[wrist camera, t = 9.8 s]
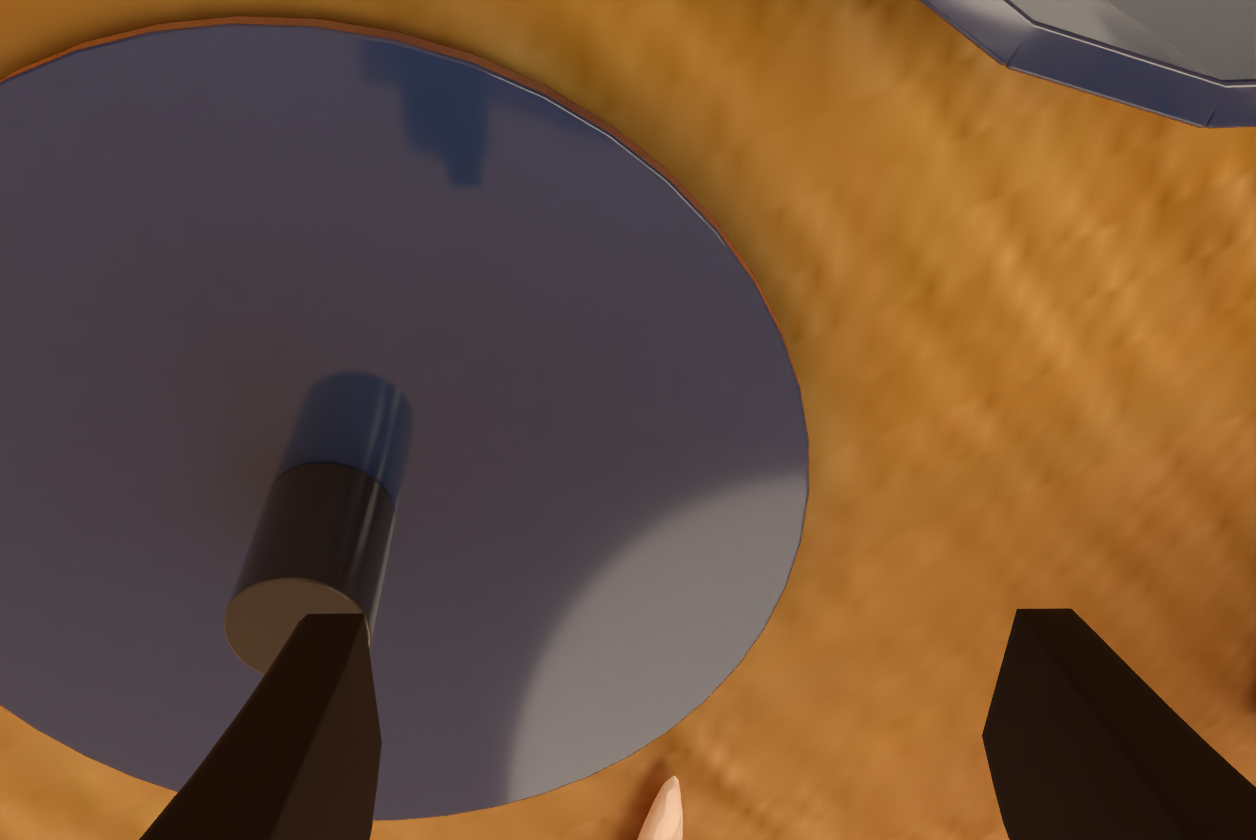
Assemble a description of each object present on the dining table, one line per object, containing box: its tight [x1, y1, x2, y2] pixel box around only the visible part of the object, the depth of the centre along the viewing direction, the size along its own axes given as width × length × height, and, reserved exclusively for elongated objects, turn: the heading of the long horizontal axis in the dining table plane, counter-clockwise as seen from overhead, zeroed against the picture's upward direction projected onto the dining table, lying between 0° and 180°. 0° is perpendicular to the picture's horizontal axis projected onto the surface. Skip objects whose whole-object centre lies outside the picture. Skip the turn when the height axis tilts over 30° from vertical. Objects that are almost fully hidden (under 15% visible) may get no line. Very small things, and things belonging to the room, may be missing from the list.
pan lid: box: [0, 16, 809, 820], centre depth 21 cm, size 18×18×4 cm
